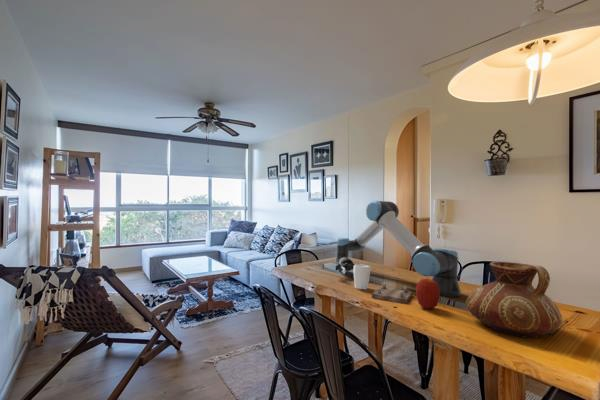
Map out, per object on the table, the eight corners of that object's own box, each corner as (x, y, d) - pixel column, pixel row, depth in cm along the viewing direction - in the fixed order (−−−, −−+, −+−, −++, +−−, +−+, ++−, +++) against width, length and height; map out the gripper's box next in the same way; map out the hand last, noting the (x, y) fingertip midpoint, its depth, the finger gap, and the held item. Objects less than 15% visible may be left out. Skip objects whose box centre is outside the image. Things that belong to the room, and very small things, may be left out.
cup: (370, 286, 171) (370, 265, 171) (369, 290, 162) (369, 267, 162) (353, 285, 173) (354, 263, 173) (351, 289, 165) (352, 266, 165)
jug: (453, 323, 119) (455, 258, 120) (480, 308, 139) (481, 252, 140) (552, 352, 97) (554, 272, 98) (567, 329, 117) (568, 263, 118)
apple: (426, 312, 130) (427, 279, 131) (410, 305, 140) (410, 274, 140) (445, 310, 134) (446, 278, 135) (427, 303, 144) (428, 273, 144)
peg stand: (411, 295, 156) (412, 286, 156) (406, 303, 142) (406, 293, 142) (380, 290, 164) (380, 281, 164) (371, 297, 150) (372, 288, 150)
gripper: (364, 270, 200) (376, 278, 179) (326, 269, 197) (334, 277, 176) (365, 258, 200) (377, 265, 179) (327, 257, 197) (335, 264, 176)
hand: (356, 271), depth 178 cm, fingers open, 13 cm apart
